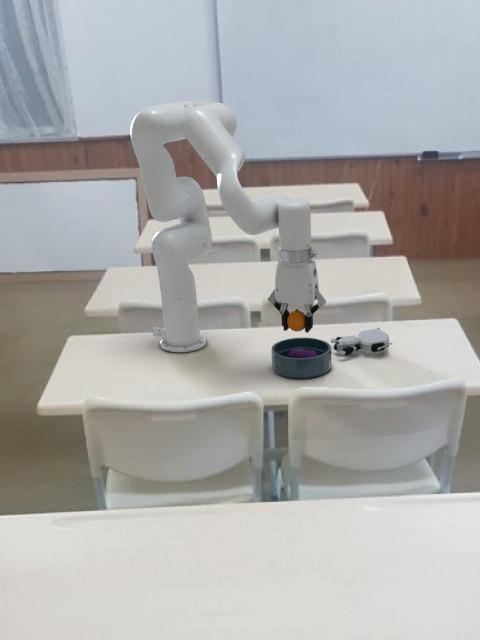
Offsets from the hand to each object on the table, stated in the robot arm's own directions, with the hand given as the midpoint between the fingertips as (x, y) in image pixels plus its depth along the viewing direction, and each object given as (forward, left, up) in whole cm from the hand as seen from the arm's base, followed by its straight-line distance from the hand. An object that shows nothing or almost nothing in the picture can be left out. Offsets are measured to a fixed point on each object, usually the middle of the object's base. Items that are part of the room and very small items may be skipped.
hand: (297, 329), depth 209 cm
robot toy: (+12, +18, -12) cm, 25 cm away
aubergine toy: (0, +5, -11) cm, 12 cm away
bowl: (0, +3, -12) cm, 12 cm away
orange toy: (0, 0, 0) cm, 0 cm away
